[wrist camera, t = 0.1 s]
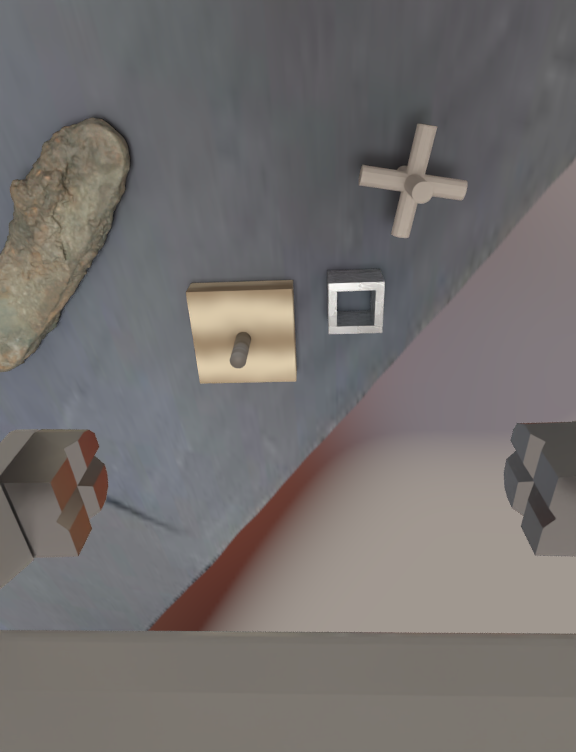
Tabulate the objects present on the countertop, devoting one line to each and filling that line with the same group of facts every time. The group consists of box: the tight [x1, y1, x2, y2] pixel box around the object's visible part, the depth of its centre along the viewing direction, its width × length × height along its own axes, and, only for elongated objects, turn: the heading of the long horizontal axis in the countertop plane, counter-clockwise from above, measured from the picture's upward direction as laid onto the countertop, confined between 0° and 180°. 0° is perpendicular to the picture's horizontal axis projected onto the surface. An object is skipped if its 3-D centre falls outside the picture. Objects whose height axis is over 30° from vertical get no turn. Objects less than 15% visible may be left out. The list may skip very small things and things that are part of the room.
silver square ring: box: [327, 269, 385, 334], centre depth 57 cm, size 6×6×4 cm
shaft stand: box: [186, 280, 297, 383], centre depth 58 cm, size 12×12×8 cm
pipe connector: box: [359, 124, 467, 238], centre depth 47 cm, size 10×10×10 cm
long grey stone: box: [0, 118, 130, 372], centre depth 56 cm, size 35×5×10 cm
